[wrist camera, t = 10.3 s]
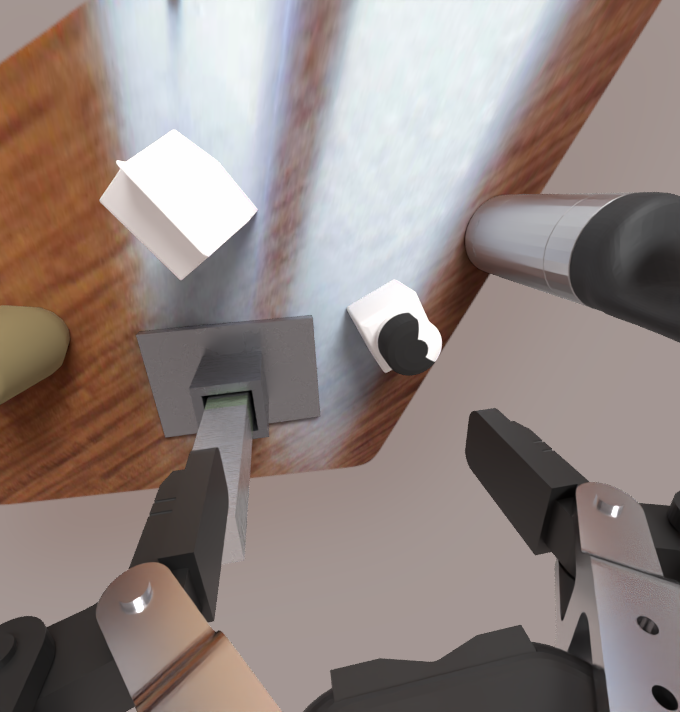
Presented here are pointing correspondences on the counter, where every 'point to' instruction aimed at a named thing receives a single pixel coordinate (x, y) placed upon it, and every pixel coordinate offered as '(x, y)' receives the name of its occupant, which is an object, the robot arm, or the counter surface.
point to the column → (231, 460)
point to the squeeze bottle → (29, 347)
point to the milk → (177, 202)
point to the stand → (233, 370)
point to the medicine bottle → (396, 329)
